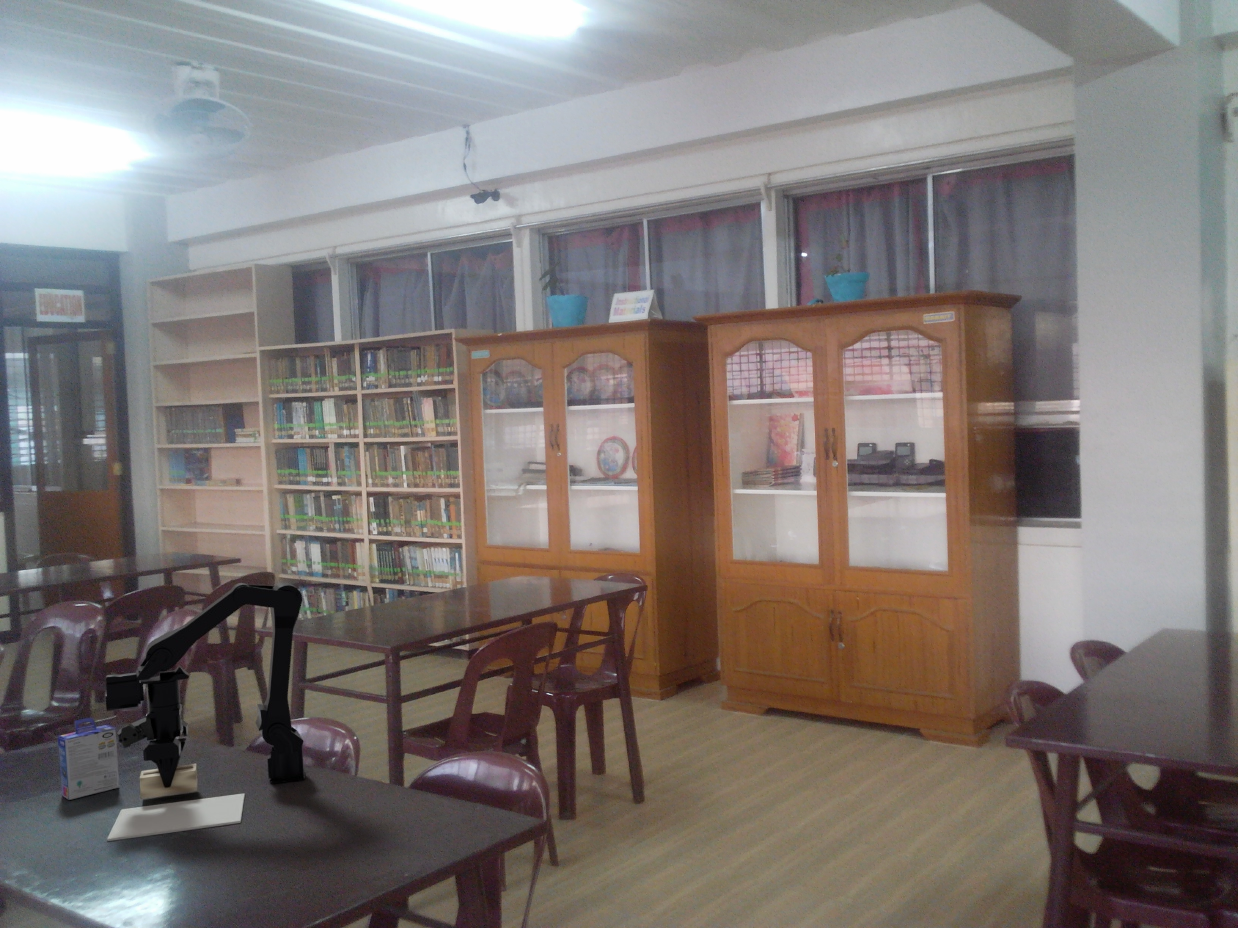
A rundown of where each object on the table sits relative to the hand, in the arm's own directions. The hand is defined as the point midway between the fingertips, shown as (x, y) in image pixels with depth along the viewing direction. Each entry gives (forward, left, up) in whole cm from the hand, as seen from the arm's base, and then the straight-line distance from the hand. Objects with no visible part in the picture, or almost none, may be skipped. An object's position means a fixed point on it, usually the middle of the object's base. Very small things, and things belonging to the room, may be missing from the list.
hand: (169, 782), depth 211 cm
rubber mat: (-3, +13, -3) cm, 14 cm away
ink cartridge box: (+16, -11, -3) cm, 20 cm away
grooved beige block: (0, 0, -2) cm, 2 cm away
